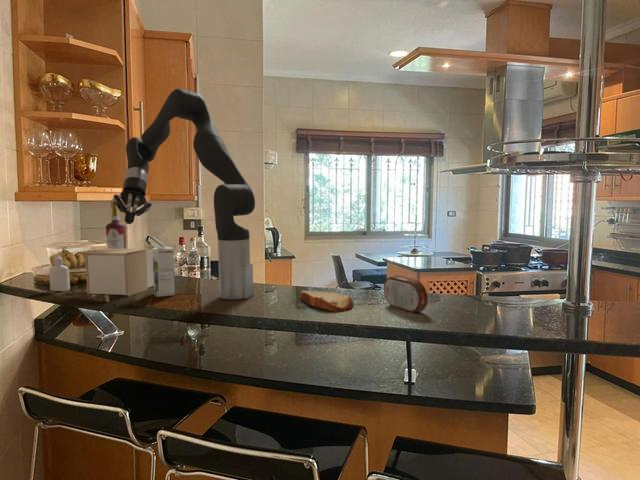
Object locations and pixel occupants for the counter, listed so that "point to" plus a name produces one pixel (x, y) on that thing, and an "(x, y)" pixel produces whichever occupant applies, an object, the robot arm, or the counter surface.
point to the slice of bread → (327, 300)
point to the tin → (405, 293)
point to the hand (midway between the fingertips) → (128, 222)
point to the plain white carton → (113, 273)
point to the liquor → (116, 231)
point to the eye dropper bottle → (59, 276)
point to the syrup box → (163, 271)
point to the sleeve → (128, 268)
